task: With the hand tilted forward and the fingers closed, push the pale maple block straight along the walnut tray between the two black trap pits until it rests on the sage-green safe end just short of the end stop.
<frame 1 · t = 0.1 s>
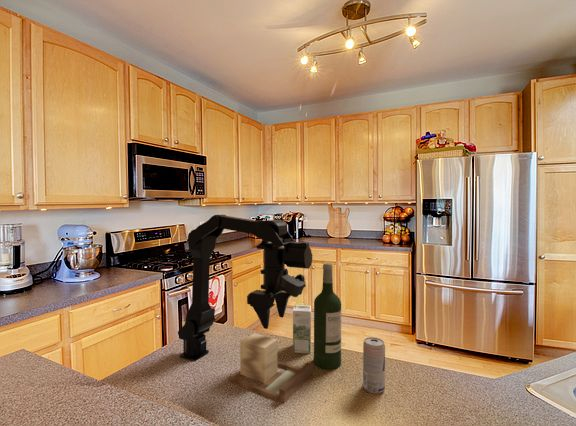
hand: (274, 322, 82), 15 cm above the countertop, tool pointing down, fingers open, 9 cm apart
wine bottle: (327, 367, 87), on the countertop
syrup box: (302, 353, 96), on the countertop
energy drink: (373, 388, 77), on the countertop
maple block: (258, 373, 81), point 1 cm above the countertop, touching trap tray
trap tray: (271, 382, 79), on the countertop
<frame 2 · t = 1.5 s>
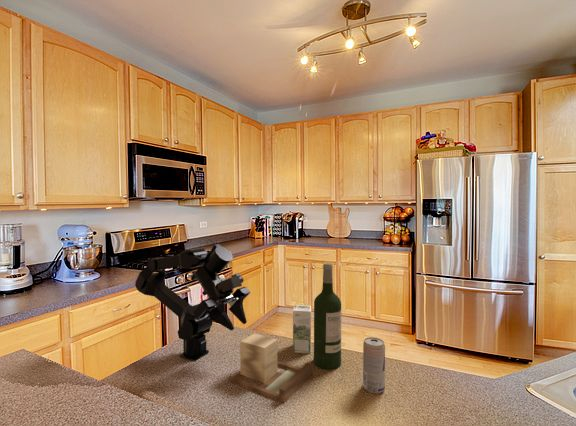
hand: (239, 326, 85), 13 cm above the countertop, tool tilted 45°, fingers open, 5 cm apart
nothing on the countertop moved.
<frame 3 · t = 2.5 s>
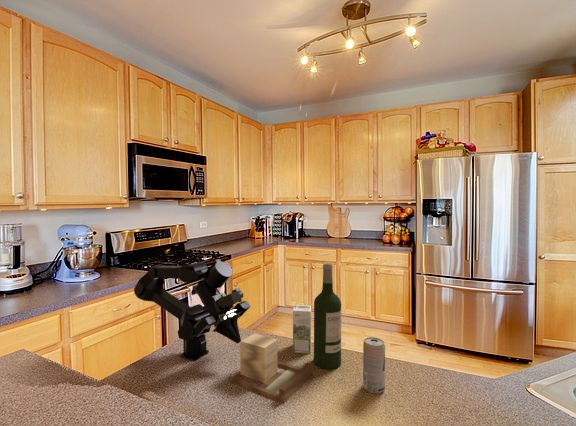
hand: (239, 342, 85), 8 cm above the countertop, tool tilted 45°, fingers closed
nothing on the countertop moved.
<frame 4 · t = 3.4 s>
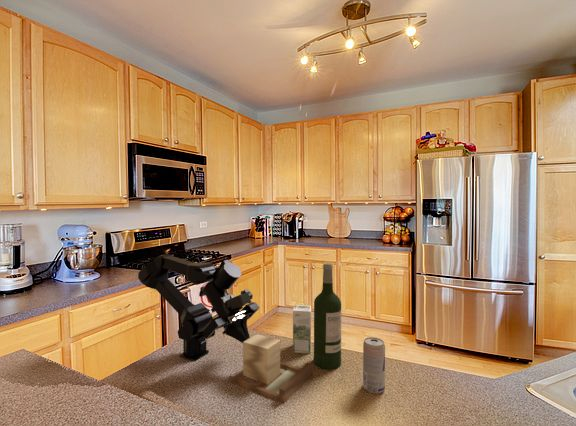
hand: (249, 344, 83), 8 cm above the countertop, tool tilted 45°, fingers closed, pressing on maple block
maple block: (261, 374, 81), point 1 cm above the countertop, touching gripper
everything else where it was.
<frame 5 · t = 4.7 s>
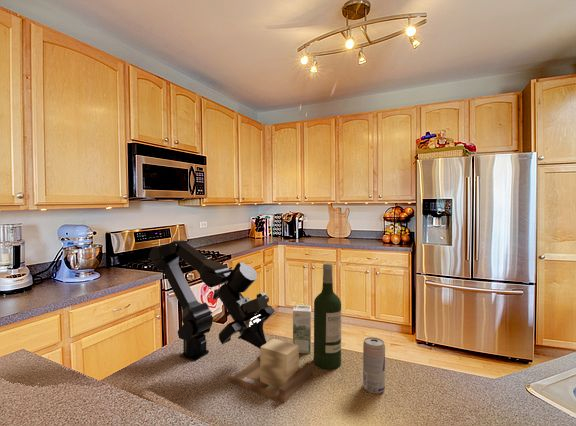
hand: (266, 349, 80), 8 cm above the countertop, tool tilted 45°, fingers closed, pressing on maple block
maple block: (279, 380, 78), point 1 cm above the countertop, touching gripper, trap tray
everything else where it was.
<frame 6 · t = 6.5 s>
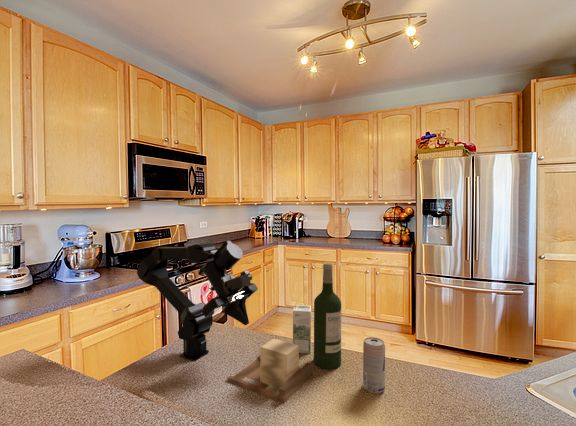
hand: (247, 324, 85), 13 cm above the countertop, tool tilted 40°, fingers closed
maple block: (279, 380, 78), point 1 cm above the countertop, touching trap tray
everything else where it was.
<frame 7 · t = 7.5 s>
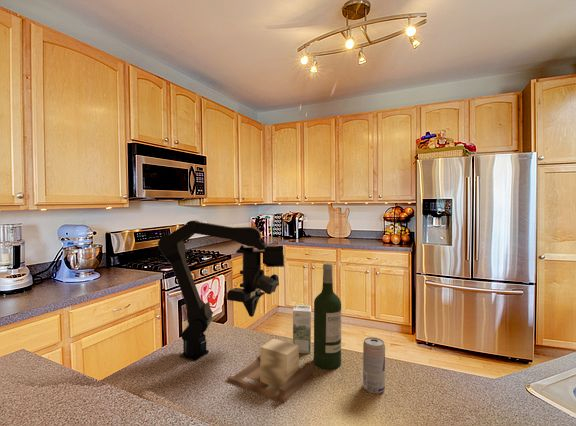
hand: (251, 316, 95), 12 cm above the countertop, tool pointing down, fingers closed
nothing on the countertop moved.
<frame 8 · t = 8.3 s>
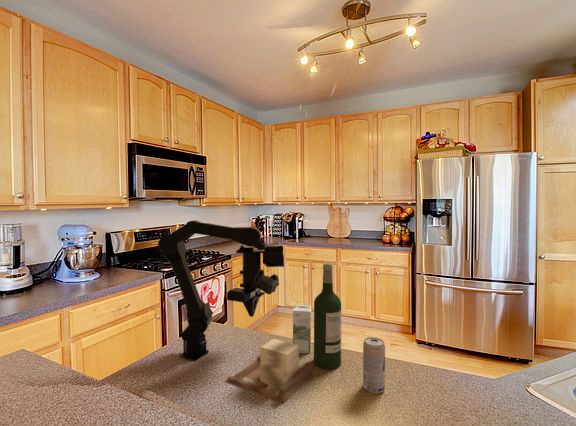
hand: (251, 316, 95), 12 cm above the countertop, tool pointing down, fingers closed
nothing on the countertop moved.
at the end: maple block 0.8 cm from the target spot on the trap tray, point 1.2 cm above the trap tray's base; maple block tilted 1°; maple block moved 6.6 cm from its start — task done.
